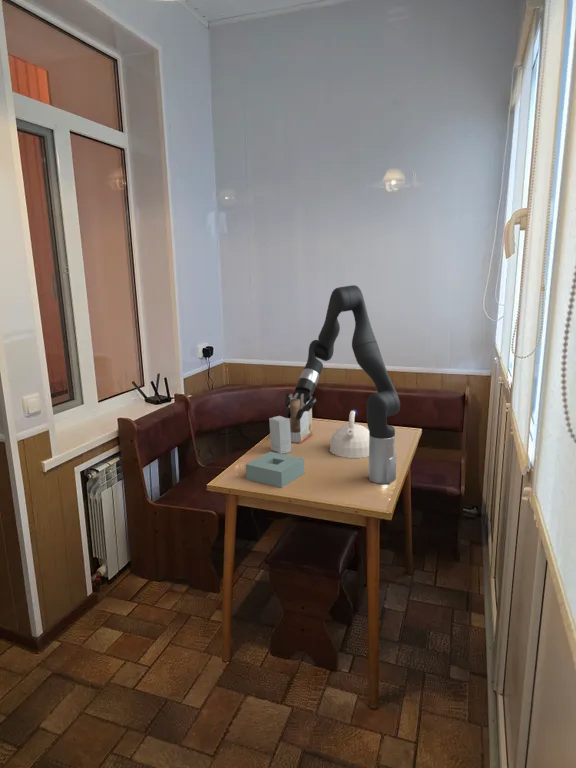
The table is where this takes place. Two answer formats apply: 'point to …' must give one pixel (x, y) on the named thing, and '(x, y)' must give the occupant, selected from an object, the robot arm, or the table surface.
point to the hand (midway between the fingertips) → (292, 417)
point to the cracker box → (303, 428)
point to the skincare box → (280, 434)
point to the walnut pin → (294, 415)
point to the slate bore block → (275, 469)
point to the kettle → (350, 439)
